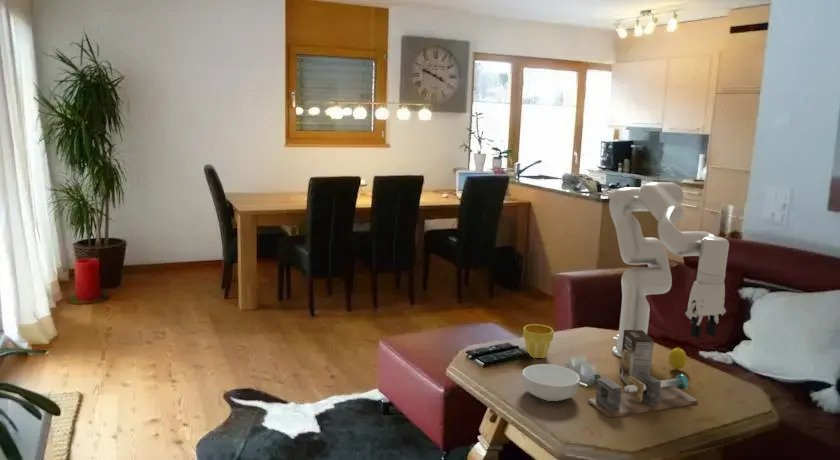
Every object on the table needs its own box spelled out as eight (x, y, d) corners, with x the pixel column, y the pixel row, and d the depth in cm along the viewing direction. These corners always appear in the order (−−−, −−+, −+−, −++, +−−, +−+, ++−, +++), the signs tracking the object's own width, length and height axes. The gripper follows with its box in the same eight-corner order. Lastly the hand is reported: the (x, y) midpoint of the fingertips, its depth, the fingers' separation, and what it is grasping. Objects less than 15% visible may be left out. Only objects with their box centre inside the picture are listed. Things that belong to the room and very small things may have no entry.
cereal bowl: (580, 390, 199) (582, 368, 198) (575, 413, 183) (577, 390, 182) (526, 380, 204) (527, 359, 203) (516, 402, 189) (517, 379, 187)
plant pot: (515, 353, 226) (517, 326, 224) (535, 347, 232) (537, 322, 230) (536, 363, 218) (539, 336, 216) (557, 357, 224) (560, 330, 222)
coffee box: (618, 376, 210) (623, 329, 207) (637, 376, 211) (642, 329, 208) (629, 388, 202) (634, 339, 198) (649, 388, 202) (654, 339, 199)
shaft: (677, 385, 199) (678, 371, 198) (687, 391, 195) (689, 377, 194) (621, 393, 191) (622, 379, 190) (631, 400, 187) (632, 386, 186)
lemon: (686, 374, 214) (689, 351, 213) (668, 372, 215) (671, 349, 214) (683, 367, 220) (686, 345, 218) (666, 365, 221) (668, 343, 219)
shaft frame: (673, 389, 202) (676, 365, 201) (697, 403, 193) (700, 378, 191) (588, 402, 191) (590, 377, 189) (609, 417, 182) (612, 391, 180)
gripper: (722, 273, 198) (714, 329, 202) (678, 276, 192) (671, 334, 196) (742, 279, 191) (733, 337, 195) (697, 283, 185) (689, 342, 189)
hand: (702, 335), depth 195 cm, fingers open, 5 cm apart
